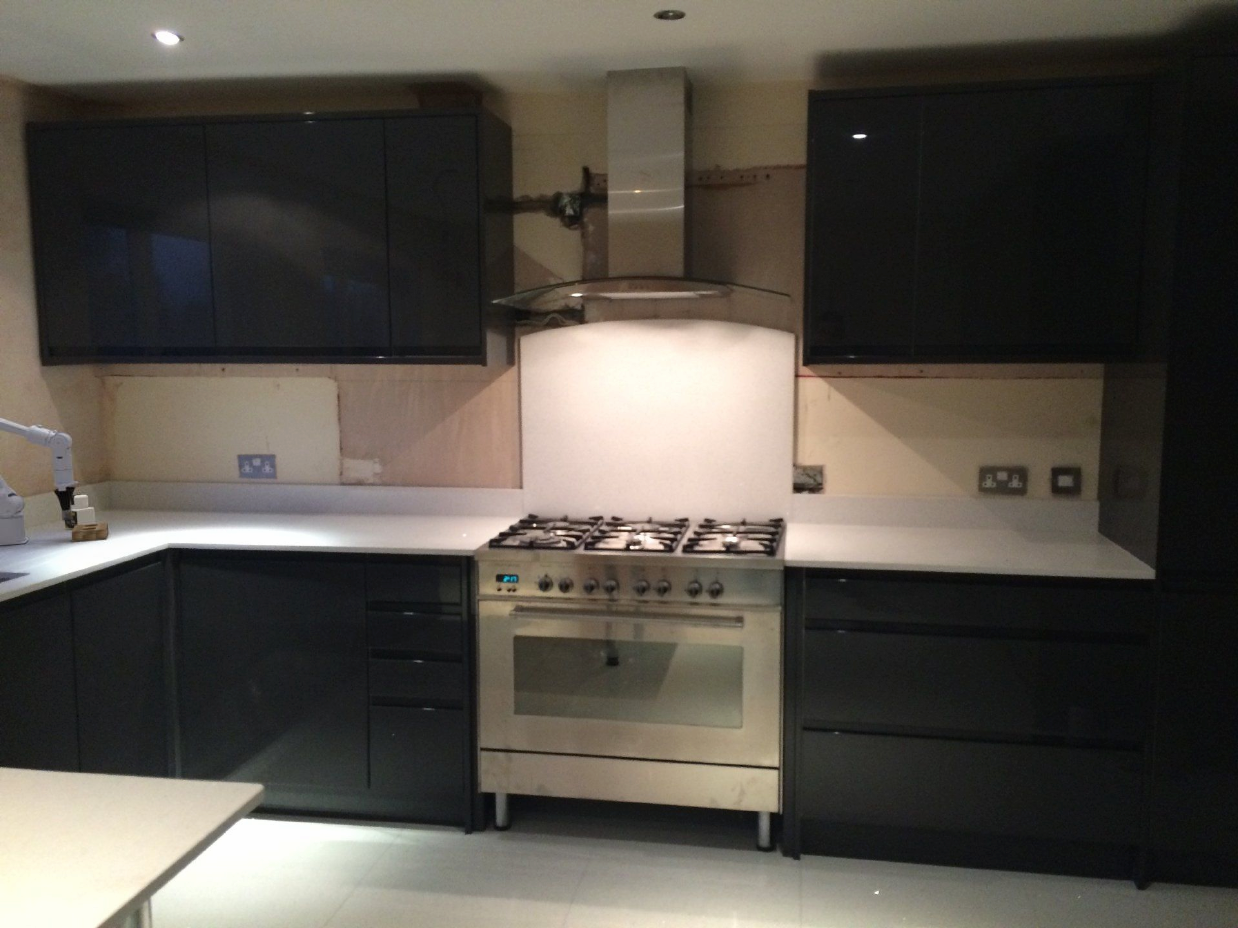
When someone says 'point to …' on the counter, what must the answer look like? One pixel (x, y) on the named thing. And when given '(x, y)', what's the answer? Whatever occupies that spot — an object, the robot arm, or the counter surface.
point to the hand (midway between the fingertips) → (66, 509)
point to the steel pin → (67, 514)
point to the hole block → (90, 532)
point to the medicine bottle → (80, 512)
